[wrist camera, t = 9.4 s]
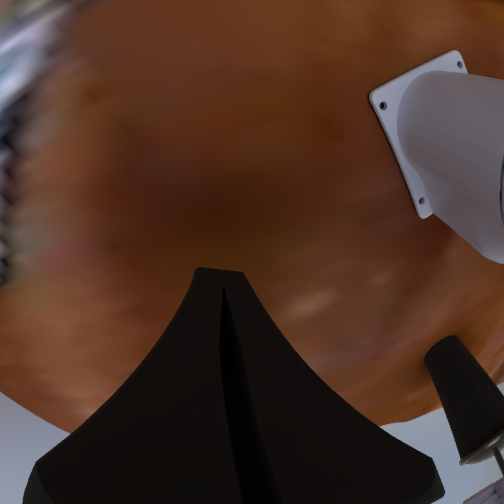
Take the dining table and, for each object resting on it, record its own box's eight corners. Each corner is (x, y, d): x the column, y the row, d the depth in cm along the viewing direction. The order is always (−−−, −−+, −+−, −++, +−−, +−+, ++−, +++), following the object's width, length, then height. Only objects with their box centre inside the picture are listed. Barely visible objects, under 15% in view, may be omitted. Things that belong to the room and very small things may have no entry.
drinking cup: (414, 346, 27) (492, 510, 10) (471, 315, 26) (558, 458, 9) (412, 380, 31) (470, 516, 14) (462, 353, 30) (527, 476, 13)
